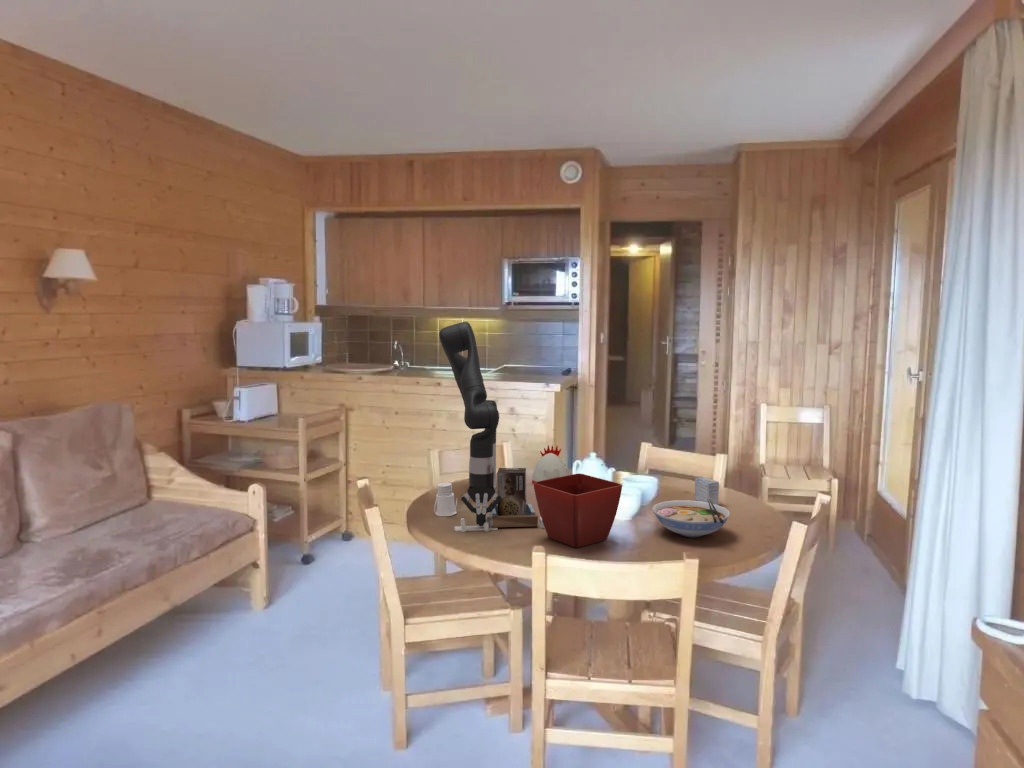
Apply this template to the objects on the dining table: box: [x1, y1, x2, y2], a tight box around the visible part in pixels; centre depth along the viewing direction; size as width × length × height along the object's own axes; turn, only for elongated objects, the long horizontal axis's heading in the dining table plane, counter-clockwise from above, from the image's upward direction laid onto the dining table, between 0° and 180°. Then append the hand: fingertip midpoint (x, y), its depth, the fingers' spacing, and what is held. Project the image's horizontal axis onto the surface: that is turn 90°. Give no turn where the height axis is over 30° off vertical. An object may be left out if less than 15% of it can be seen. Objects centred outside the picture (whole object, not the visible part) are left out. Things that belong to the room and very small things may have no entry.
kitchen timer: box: [531, 444, 568, 486], centre depth 282 cm, size 14×14×15 cm
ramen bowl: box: [652, 499, 731, 538], centre depth 221 cm, size 25×23×8 cm
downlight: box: [433, 482, 458, 517], centre depth 242 cm, size 8×7×10 cm
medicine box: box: [694, 476, 720, 505], centre depth 254 cm, size 8×4×9 cm, turn 22°
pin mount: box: [454, 516, 545, 533], centre depth 227 cm, size 6×28×2 cm, turn 96°
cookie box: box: [496, 467, 527, 516], centre depth 234 cm, size 9×6×16 cm
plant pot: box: [533, 473, 623, 548], centre depth 216 cm, size 19×19×17 cm
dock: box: [489, 502, 536, 518], centre depth 234 cm, size 10×13×4 cm
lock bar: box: [486, 514, 539, 528], centre depth 227 cm, size 3×16×3 cm, turn 96°
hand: (480, 525), depth 226 cm, fingers closed
